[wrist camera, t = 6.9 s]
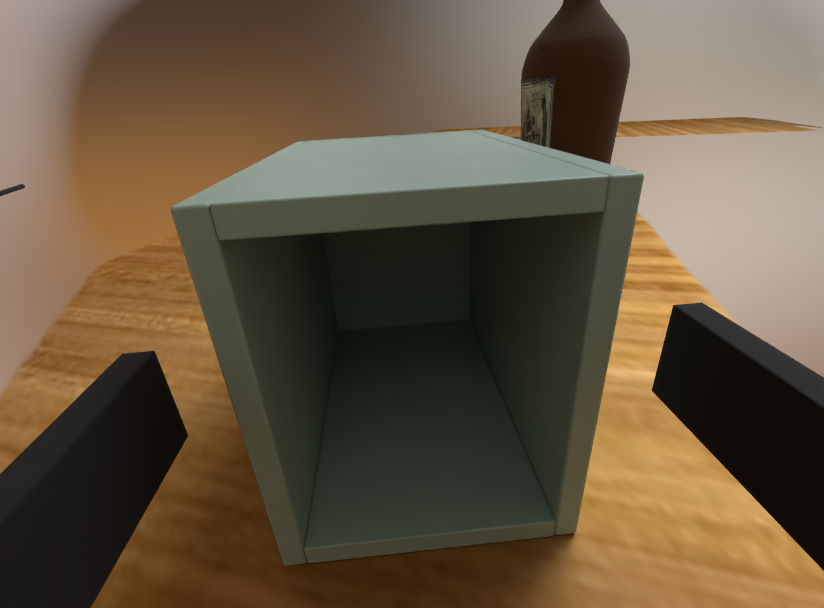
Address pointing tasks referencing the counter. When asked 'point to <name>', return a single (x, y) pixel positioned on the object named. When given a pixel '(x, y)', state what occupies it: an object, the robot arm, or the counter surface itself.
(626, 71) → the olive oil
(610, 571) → the counter surface
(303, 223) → the open box
